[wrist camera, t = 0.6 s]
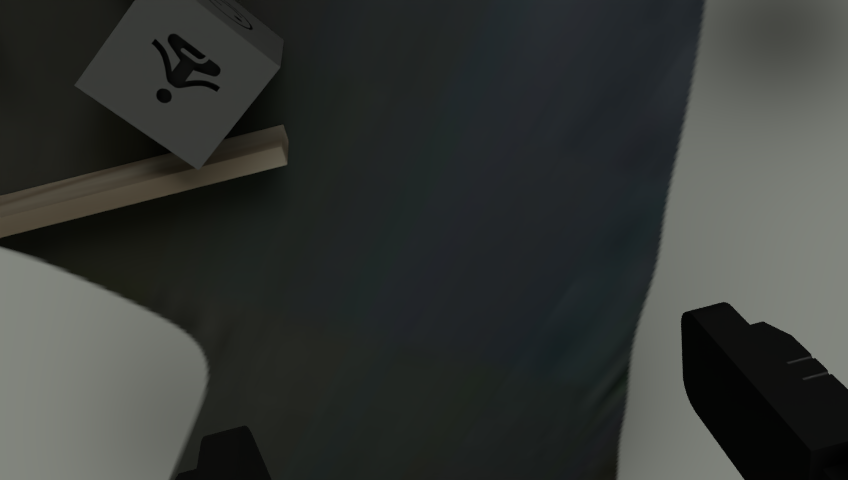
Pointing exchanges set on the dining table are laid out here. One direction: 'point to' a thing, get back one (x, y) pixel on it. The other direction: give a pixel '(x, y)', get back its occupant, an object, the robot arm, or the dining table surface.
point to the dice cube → (184, 71)
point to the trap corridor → (140, 182)
